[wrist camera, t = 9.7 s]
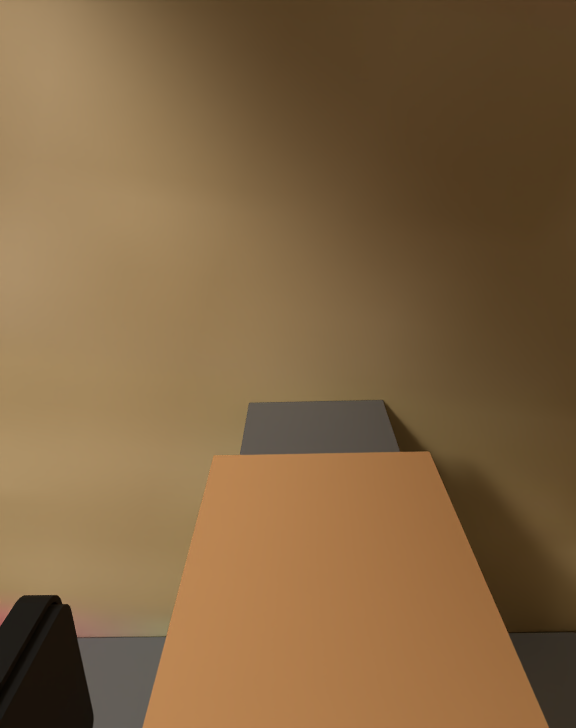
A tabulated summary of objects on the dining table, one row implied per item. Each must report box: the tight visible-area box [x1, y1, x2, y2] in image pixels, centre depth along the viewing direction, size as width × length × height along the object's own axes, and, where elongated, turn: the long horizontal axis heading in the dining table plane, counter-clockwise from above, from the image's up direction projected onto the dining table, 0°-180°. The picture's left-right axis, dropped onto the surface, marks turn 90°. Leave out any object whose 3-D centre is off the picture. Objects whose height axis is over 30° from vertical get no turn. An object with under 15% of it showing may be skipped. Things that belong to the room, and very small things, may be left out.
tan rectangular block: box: [142, 400, 549, 728], centre depth 9 cm, size 4×4×9 cm
